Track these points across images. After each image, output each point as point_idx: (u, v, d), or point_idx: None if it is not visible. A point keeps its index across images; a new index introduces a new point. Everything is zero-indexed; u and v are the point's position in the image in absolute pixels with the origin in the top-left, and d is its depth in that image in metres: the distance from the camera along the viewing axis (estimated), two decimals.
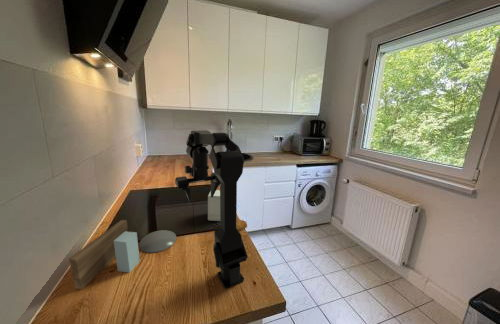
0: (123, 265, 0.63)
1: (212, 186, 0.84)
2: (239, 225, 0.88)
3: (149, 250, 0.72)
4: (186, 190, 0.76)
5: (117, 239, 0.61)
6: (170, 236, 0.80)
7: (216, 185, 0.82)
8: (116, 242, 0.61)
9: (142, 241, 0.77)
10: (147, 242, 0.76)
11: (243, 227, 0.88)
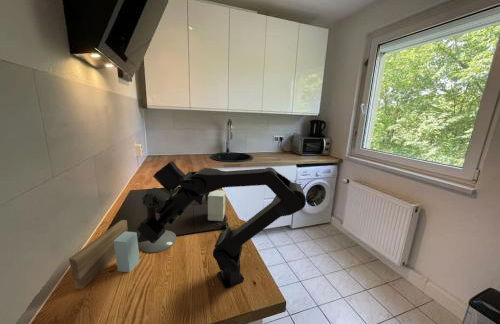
0: (123, 265, 0.63)
1: None
2: (239, 224, 0.88)
3: (149, 250, 0.72)
4: None
5: (117, 239, 0.61)
6: (170, 236, 0.80)
7: None
8: (116, 242, 0.61)
9: None
10: (147, 242, 0.76)
11: None
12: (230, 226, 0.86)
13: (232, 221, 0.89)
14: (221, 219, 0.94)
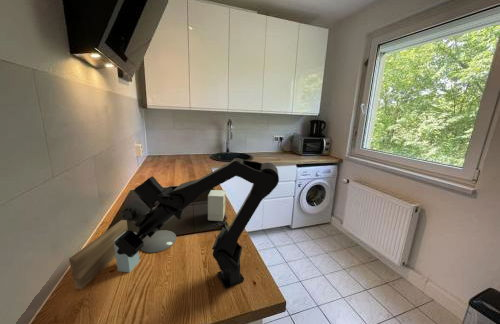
0: (123, 265, 0.63)
1: None
2: None
3: (149, 250, 0.72)
4: None
5: None
6: (170, 236, 0.80)
7: None
8: None
9: None
10: (147, 242, 0.76)
11: None
12: None
13: (231, 220, 0.89)
14: (221, 219, 0.94)
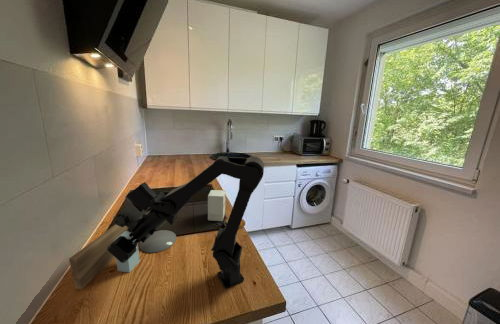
0: (123, 265, 0.63)
1: None
2: None
3: (149, 250, 0.72)
4: None
5: None
6: (170, 236, 0.80)
7: None
8: None
9: None
10: (147, 242, 0.76)
11: (242, 225, 0.90)
12: None
13: None
14: (221, 219, 0.94)
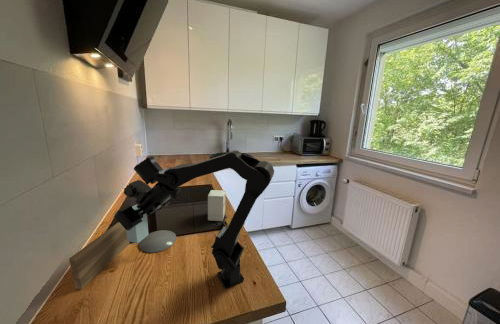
0: (132, 236, 0.66)
1: None
2: None
3: (149, 250, 0.72)
4: None
5: None
6: (170, 236, 0.80)
7: (156, 211, 0.69)
8: None
9: (142, 241, 0.77)
10: (147, 242, 0.76)
11: None
12: None
13: (230, 219, 0.90)
14: (221, 219, 0.94)
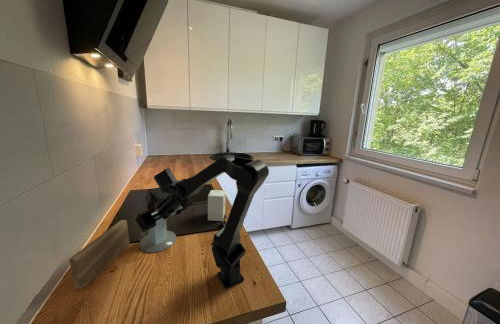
0: (152, 238, 0.75)
1: None
2: None
3: (149, 250, 0.72)
4: None
5: None
6: (170, 236, 0.80)
7: (177, 214, 0.78)
8: None
9: (142, 241, 0.77)
10: (147, 242, 0.76)
11: None
12: None
13: None
14: (221, 219, 0.94)
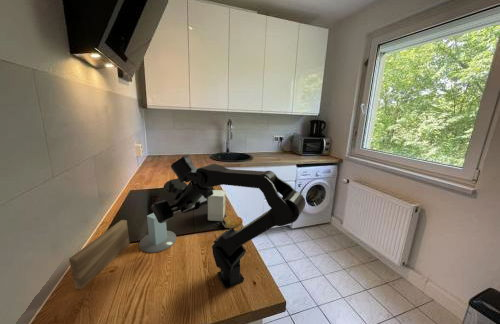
0: (152, 238, 0.75)
1: None
2: (236, 221, 0.90)
3: (149, 250, 0.72)
4: None
5: (149, 215, 0.74)
6: (170, 236, 0.80)
7: None
8: (148, 217, 0.74)
9: (142, 241, 0.77)
10: (147, 242, 0.76)
11: (239, 223, 0.91)
12: (227, 223, 0.88)
13: (229, 218, 0.90)
14: (221, 219, 0.94)
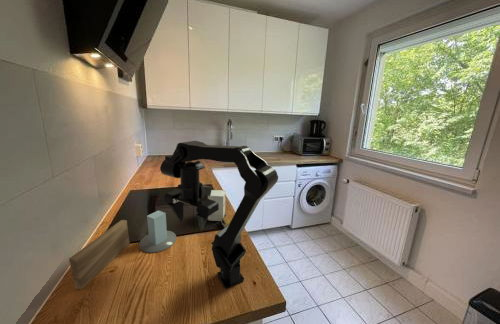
0: (152, 238, 0.75)
1: None
2: None
3: (149, 250, 0.72)
4: (170, 206, 0.66)
5: (149, 215, 0.74)
6: (170, 236, 0.80)
7: (197, 216, 0.61)
8: (148, 217, 0.74)
9: (142, 241, 0.77)
10: (147, 242, 0.76)
11: None
12: (227, 223, 0.89)
13: (228, 218, 0.91)
14: None
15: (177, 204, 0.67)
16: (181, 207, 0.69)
